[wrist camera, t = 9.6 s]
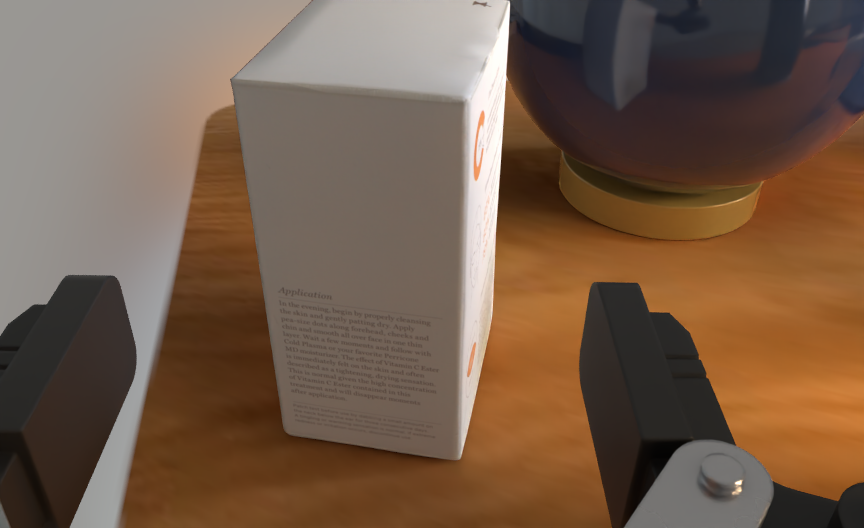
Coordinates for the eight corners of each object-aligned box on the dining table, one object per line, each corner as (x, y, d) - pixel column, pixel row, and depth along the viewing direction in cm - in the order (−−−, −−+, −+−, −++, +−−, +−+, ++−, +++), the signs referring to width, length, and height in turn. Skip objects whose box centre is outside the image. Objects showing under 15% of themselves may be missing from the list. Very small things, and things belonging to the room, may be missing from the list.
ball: (913, 293, 35) (1141, -224, 24) (493, 291, 34) (527, -230, 24) (768, 114, 49) (867, -255, 38) (473, 113, 49) (488, -259, 38)
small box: (345, 297, 34) (323, -18, 27) (494, 316, 33) (516, -5, 26) (277, 438, 28) (223, 74, 20) (461, 468, 27) (476, 97, 19)
